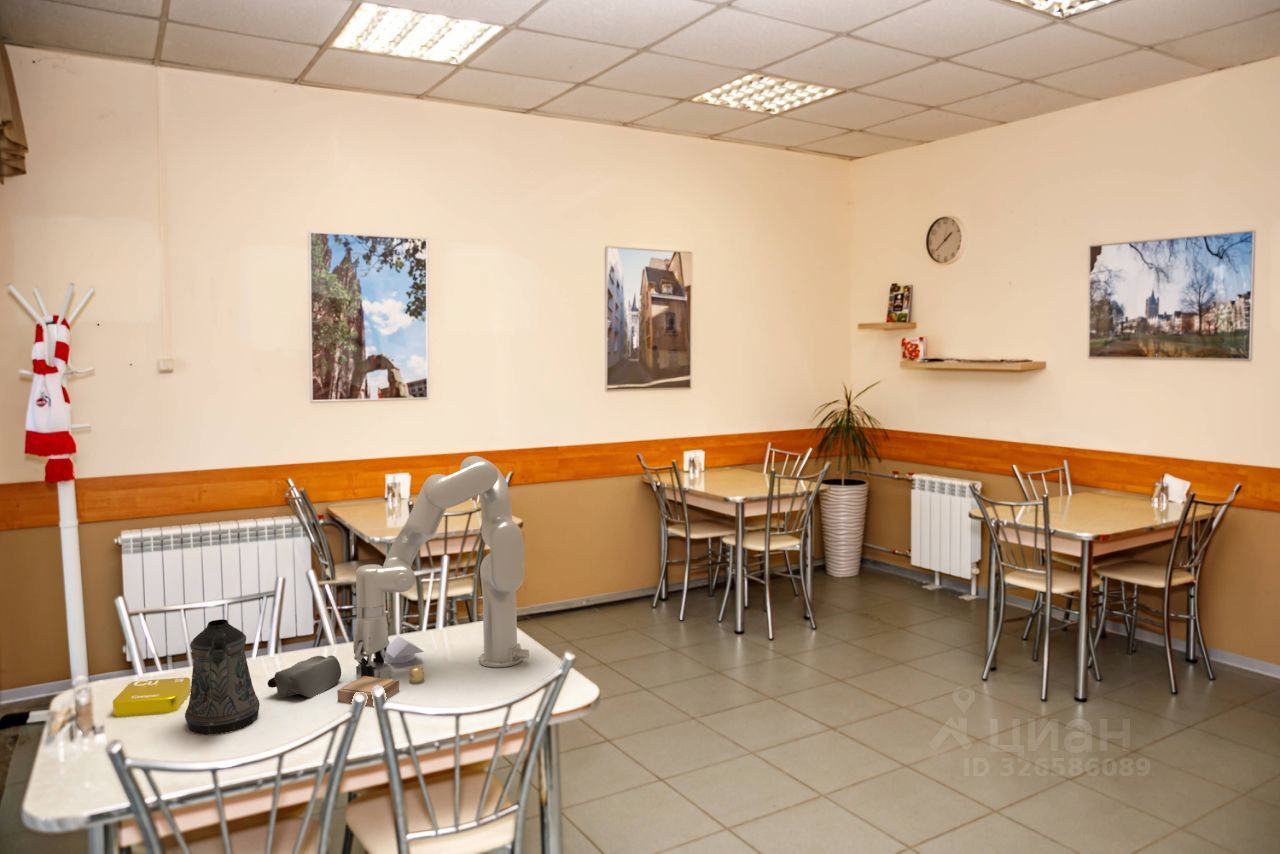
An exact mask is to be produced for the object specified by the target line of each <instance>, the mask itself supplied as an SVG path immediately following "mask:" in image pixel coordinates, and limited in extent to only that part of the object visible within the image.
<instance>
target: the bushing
mask: <svg viewBox="0 0 1280 854" xmlns="http://www.w3.org/2000/svg"><path fill="white" fill-rule="evenodd" d="M424 682H425V667H424V665H422V664H415V665H410V666H409V667H408V683H409V684H410V685H414V686H416V685H420V684H421V685H422V684H423V683H424Z"/></svg>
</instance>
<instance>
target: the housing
mask: <svg viewBox="0 0 1280 854" xmlns="http://www.w3.org/2000/svg"><path fill="white" fill-rule="evenodd" d="M371 666H372V677H377V678H385V679H392V675H391V674H392V673H391V669H392V668H391V664H389V663H387V662H384V663H380V662H373V660H371ZM355 669H356V670H355V672H356V676H355V677H356V680H357V679H359V678H360V677H361V666H360V665H359V664H358V665H357V666H355Z"/></svg>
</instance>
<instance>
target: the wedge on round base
mask: <svg viewBox="0 0 1280 854" xmlns="http://www.w3.org/2000/svg"><path fill="white" fill-rule="evenodd" d="M423 652H425V650H423V649H422V648H420V647H418V646H417V645H416V644H414V643H413V642H411V641H409V640H407V639H405V638H404V637H402V636H400V635H397V636H396V637H395V638H394V639H393V640H392V641H391V642H390V643H389V645H388V647H387V650H386V652H385V658H384V663H387V664H389V663H390V664H401V663H407V662H409V661H412V660H414V659H415V657H416V654H419V653H423Z"/></svg>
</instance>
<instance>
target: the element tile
mask: <svg viewBox="0 0 1280 854" xmlns="http://www.w3.org/2000/svg"><path fill="white" fill-rule="evenodd" d="M190 693H191V679H190V678H189V677H175V678H164V679H163V678H161V679H150V680H148V679H143V680H142V679H141V680H135V681H131V682H130V683H128V684H127V685H126V686H125V687H124V688H123V690H122V691H121V692H119V693H118V695H116V697H114V699H113V700H112V712H113V713H112V714H113V717H114V718H126V717H138V716H150V715H152V716H153V715H163V714H165V715H166V714H172V713H175V712H177V711H178V709H180V708H181V707H182V706H183V705H184V703H185V702H186V701H187V699H188V698H189V697H190ZM188 696H189V697H188ZM187 697H188V698H187ZM185 700H186V701H185ZM184 701H185V702H184ZM182 704H183V705H182ZM181 705H182V706H181ZM174 711H175V712H174ZM171 712H172V713H171Z"/></svg>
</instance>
